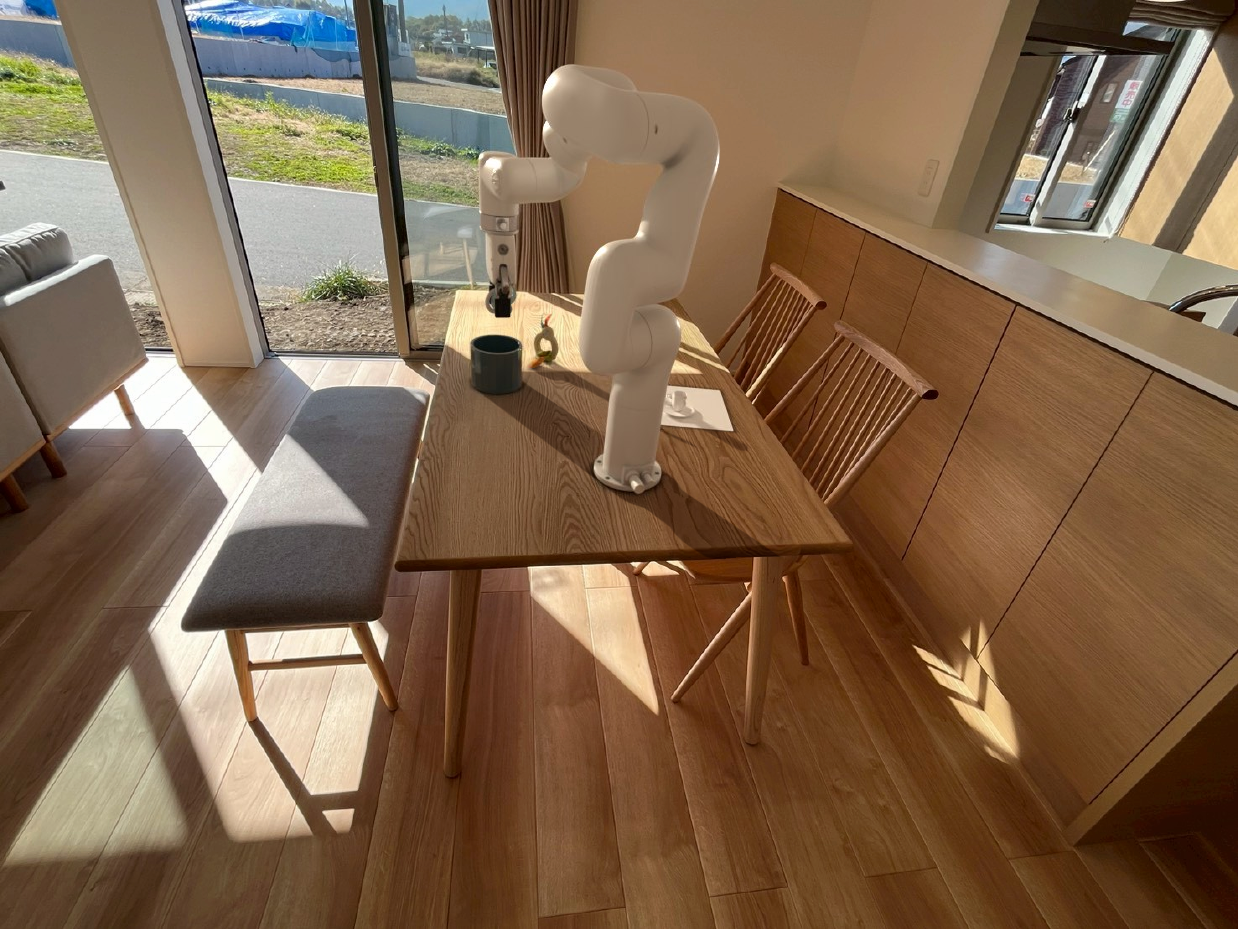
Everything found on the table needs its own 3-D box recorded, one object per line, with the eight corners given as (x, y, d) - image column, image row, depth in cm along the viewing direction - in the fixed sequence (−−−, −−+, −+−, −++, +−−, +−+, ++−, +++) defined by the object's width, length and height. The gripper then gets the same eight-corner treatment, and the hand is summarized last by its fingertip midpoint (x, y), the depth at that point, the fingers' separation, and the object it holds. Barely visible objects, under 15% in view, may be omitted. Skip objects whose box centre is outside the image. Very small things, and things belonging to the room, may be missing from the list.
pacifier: (481, 313, 125) (509, 321, 126) (483, 295, 119) (512, 304, 120) (490, 285, 127) (517, 293, 128) (492, 267, 122) (520, 276, 123)
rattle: (516, 359, 148) (517, 314, 142) (543, 353, 153) (545, 309, 147) (533, 370, 144) (534, 324, 138) (560, 364, 149) (563, 319, 143)
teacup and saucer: (658, 398, 138) (660, 382, 136) (692, 401, 138) (695, 386, 136) (660, 416, 131) (663, 400, 128) (696, 420, 131) (699, 403, 129)
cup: (525, 392, 134) (526, 353, 128) (474, 395, 130) (473, 354, 125) (516, 371, 142) (517, 333, 137) (469, 373, 139) (467, 334, 134)
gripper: (526, 234, 111) (524, 325, 121) (510, 213, 125) (510, 297, 134) (485, 232, 109) (487, 325, 118) (474, 212, 122) (476, 297, 132)
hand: (499, 309), depth 126 cm, fingers closed on pacifier, 7 cm apart
